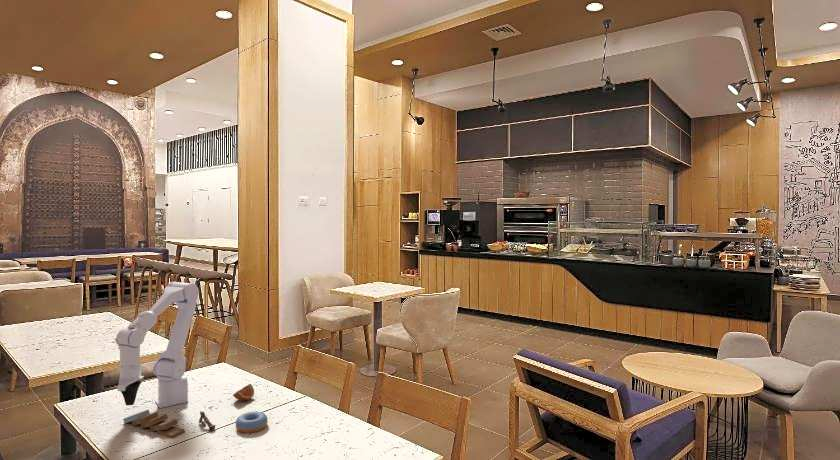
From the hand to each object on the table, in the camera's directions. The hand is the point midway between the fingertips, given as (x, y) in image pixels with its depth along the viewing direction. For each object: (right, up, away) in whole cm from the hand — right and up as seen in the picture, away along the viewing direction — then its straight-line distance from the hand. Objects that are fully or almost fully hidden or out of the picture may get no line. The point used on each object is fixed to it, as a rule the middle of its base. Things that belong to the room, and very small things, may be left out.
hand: (130, 404), depth 159 cm
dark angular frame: (+27, -7, -4) cm, 28 cm away
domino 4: (+11, -5, -5) cm, 13 cm away
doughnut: (+42, -7, -3) cm, 42 cm away
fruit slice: (+31, -6, +19) cm, 37 cm away
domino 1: (0, -5, 0) cm, 5 cm away
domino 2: (+4, -5, -2) cm, 6 cm away
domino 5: (+15, -6, -7) cm, 17 cm away
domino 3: (+8, -5, -4) cm, 10 cm away
